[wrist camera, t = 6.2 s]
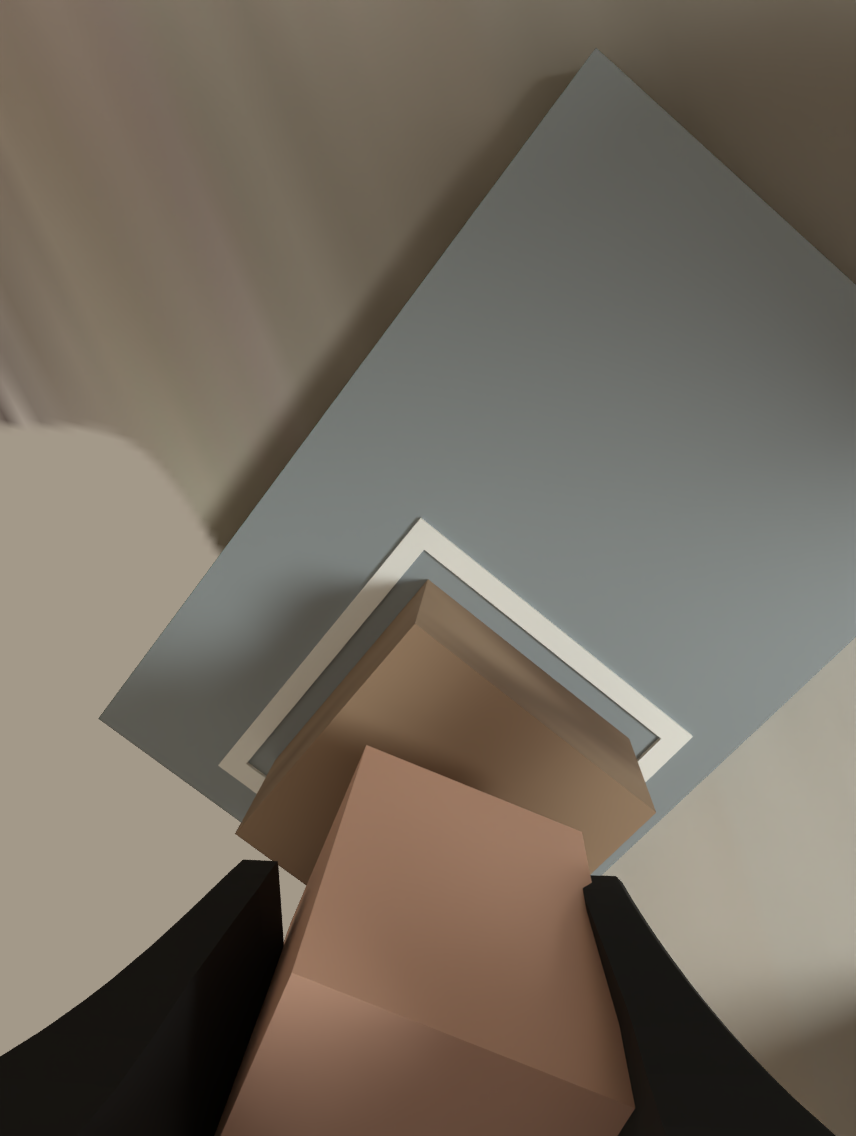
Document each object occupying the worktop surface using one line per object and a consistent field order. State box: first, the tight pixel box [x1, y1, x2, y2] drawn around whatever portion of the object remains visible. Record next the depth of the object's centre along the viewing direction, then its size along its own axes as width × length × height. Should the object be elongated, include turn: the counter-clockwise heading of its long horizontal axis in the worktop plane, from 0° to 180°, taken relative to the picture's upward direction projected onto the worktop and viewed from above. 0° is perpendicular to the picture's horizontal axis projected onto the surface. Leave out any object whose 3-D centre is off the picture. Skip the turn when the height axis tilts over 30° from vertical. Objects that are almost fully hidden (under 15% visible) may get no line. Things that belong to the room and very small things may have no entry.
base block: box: [235, 579, 656, 885], centre depth 17 cm, size 6×6×3 cm
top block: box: [214, 745, 635, 1136], centre depth 11 cm, size 4×4×5 cm
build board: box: [99, 48, 856, 876], centre depth 17 cm, size 12×18×1 cm, turn 141°
